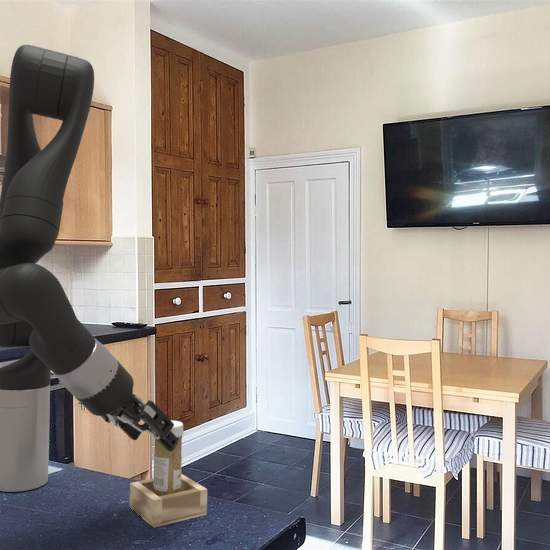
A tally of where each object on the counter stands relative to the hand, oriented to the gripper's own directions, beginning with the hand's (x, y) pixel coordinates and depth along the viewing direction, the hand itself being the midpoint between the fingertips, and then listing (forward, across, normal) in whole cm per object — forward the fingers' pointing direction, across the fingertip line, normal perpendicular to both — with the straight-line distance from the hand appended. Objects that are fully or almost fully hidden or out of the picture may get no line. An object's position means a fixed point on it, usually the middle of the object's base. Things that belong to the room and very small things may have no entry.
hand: (155, 440), depth 96 cm
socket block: (+10, 0, +6) cm, 12 cm away
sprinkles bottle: (+10, 0, +6) cm, 12 cm away
